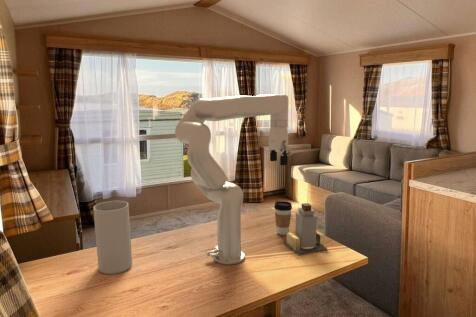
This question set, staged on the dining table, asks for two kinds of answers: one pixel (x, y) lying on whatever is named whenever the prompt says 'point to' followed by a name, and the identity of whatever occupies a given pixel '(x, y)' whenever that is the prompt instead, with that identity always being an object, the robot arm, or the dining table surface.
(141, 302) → the dining table surface
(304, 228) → the perfume bottle
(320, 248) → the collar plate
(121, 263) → the cylinder vase
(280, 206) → the coffee cup
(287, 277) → the dining table surface
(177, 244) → the dining table surface
